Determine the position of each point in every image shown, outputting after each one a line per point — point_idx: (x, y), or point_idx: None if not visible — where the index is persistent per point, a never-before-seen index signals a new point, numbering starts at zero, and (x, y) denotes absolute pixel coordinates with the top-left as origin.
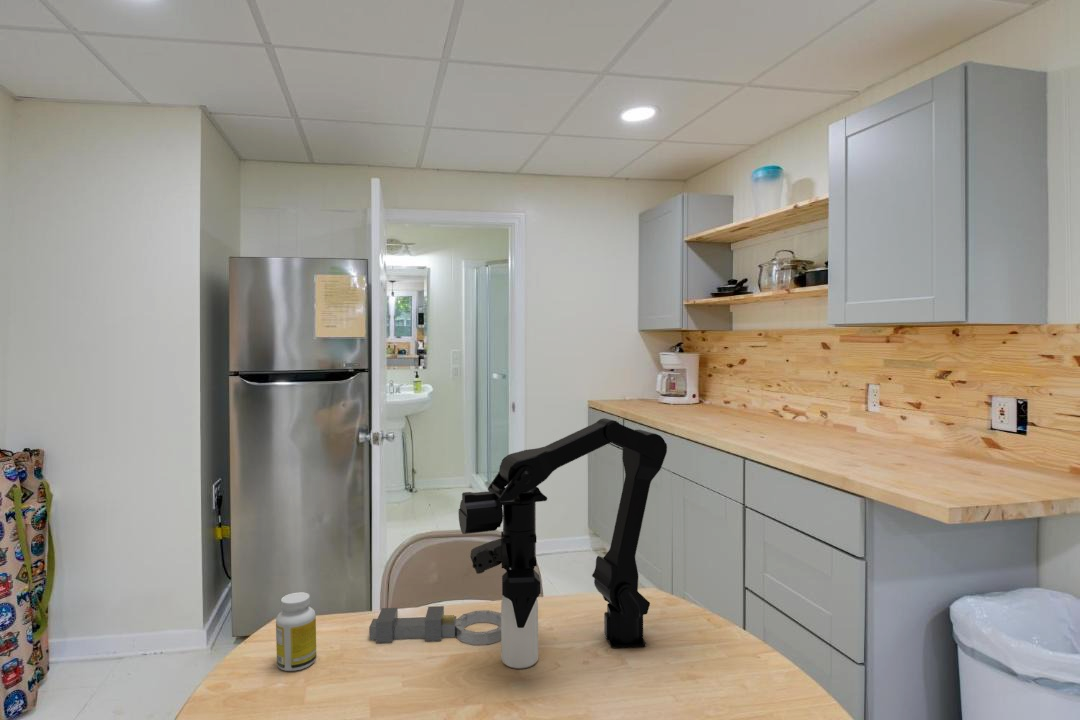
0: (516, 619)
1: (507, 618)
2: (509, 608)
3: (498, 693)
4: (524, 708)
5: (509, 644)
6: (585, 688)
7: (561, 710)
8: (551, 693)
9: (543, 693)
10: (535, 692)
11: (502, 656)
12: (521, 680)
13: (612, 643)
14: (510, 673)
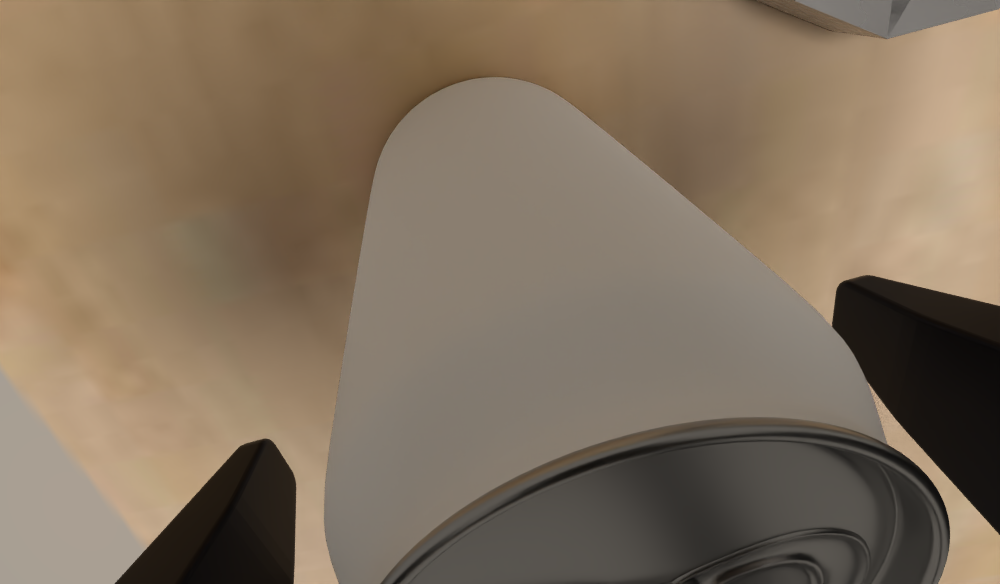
0: (162, 540)
1: (356, 331)
2: (337, 466)
3: (63, 159)
4: (4, 333)
5: (367, 220)
6: (310, 510)
7: (94, 472)
8: (210, 411)
9: (193, 382)
10: (184, 348)
11: (425, 106)
12: (270, 256)
13: None
14: (325, 175)
